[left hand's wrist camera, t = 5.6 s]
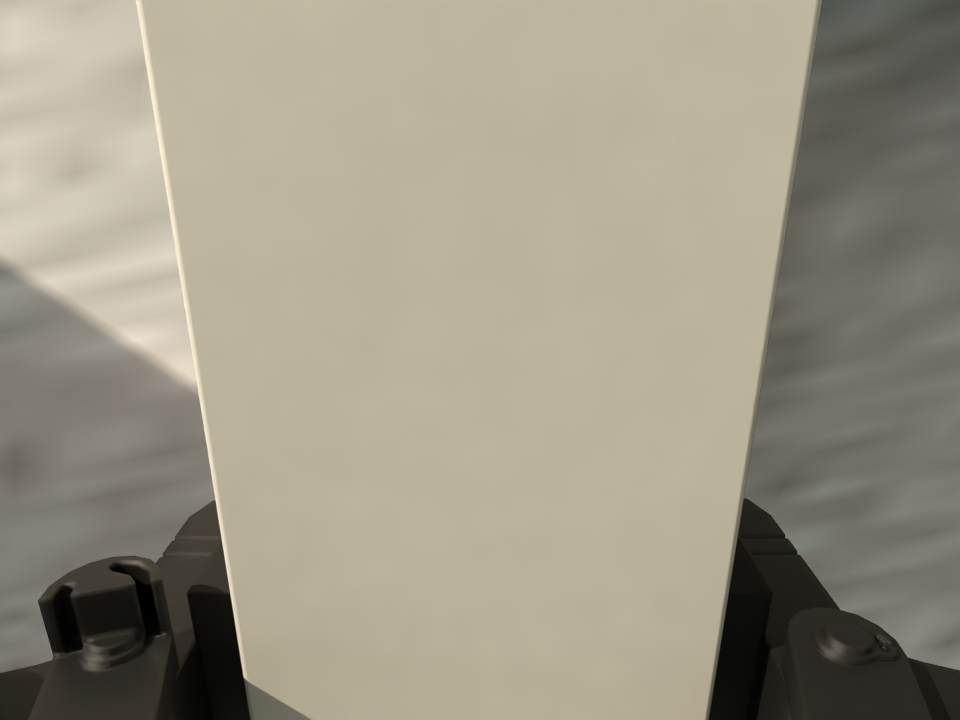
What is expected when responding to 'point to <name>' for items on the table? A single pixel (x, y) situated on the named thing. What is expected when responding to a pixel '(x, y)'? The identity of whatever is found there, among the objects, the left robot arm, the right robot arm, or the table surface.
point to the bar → (479, 336)
